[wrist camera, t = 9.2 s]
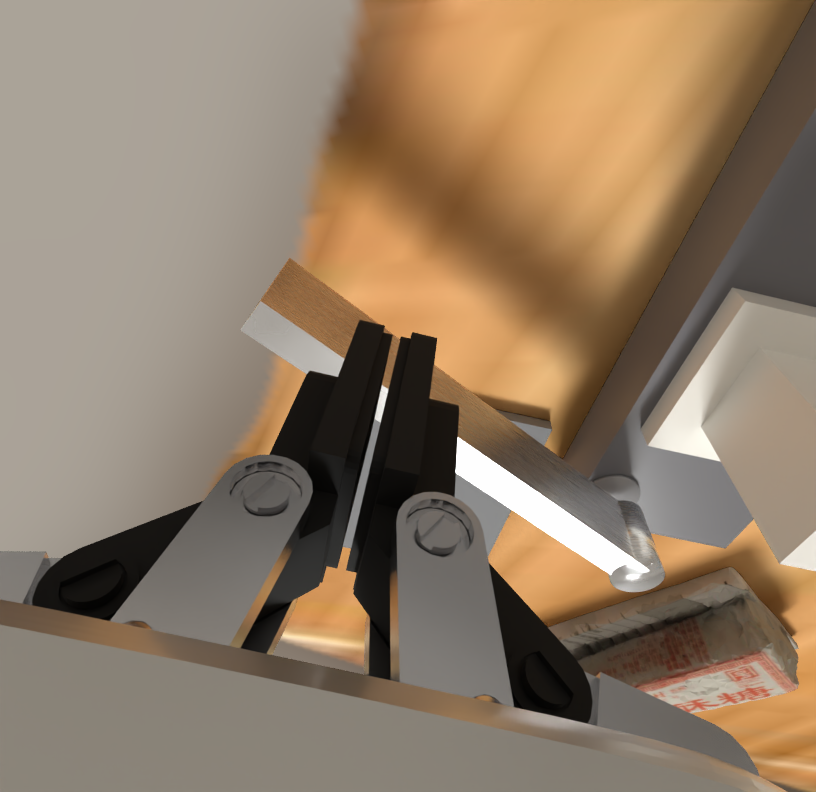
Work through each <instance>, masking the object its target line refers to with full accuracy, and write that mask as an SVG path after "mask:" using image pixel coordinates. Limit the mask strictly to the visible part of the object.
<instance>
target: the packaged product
mask: <svg viewBox="0 0 816 792" xmlns="http://www.w3.org/2000/svg"><path fill="white" fill-rule="evenodd" d="M548 628H549V630H550V631H551V632H552V633H553V634H554V635H555V636H556V637H557V638H558V639H559V640H560V642H561V643H562V644H563V645H564V646H565V647H566V648H567V649H568V650H569V651H570V653H571V654H572V655H573V656H574V657H575V659H576V660H577V661H578V663H579V664H580V666H581V667H582V668H583V670H584V671H585V672H587V673H589V674H591V675H593V676H595V677H596V676H597V675H598V674H599V673H600V672H602V673H604V674H606V675H608V676H610V677H612V678H615V679H617V680H619V681H621V682H623V683H625V684H628V685H630V686H632V687H634V688H636V689H639V690H641V691H643V692H645V693H647V694H649V695H652V696H654V697H656V698H658V699H660V700H662V701H665V702H667V703H669V704H671V705H673V706H675V707H678V708H680V709H682V710H684V711H686V712H688V713H695V712H700V711H705V710H711V709H716V708H719V707H722V706H728V705H734V704H740V703H744V702H748V701H755V700H759V699H764V698H768V697H772V696H775V695H780V694H785V693H788V692H791V691H793V690H795V689H797V688H798V685H799V682H798V679H797V676H796V670H797V663H798V655H797V653H796V651H795V649H799V648H798V645H797V643H796V642H795V641H794V639H793V638H792V637H791V635H790V634H789V633H788V632H787V630H786V629H785V628H784V626H783V625H782V624H781V622H780V621H779V620H778V618H777V617H776V616H775V615H774V614H773V613H772V612H771V611H770V610H769V609H768V608H767V607H766V605H765V604H764V603H763V602H762V601H761V600H760V599H759V598H758V597H757V596H756V594H755V593H754V592H753V590H752V589H751V588H750V587H749V585H748V584H747V583H746V582H745V580H744V579H743V578H742V577H741V575H740V574H739V573H738V572H737V571H736V570H735V569H734V568H732V567H728V568H724V569H721V570H718V571H716V572H713V573H710V574H707V575H704V576H701V577H698V578H695V579H692V580H690V581H687V582H684V583H681V584H678V585H675V586H672V587H669V588H665V589H662V590H659V591H656V592H652V593H649V594H646V595H643V596H640V597H636V598H633V599H630V600H628V601H625V602H622V603H619V604H616V605H613V606H610V607H607V608H604V609H601V610H598V611H594V612H591V613H588V614H585V615H582V616H579V617H576V618H573V619H570V620H568V621H565V622H562V623H559V624H556V625H553V626H550V627H548Z"/></svg>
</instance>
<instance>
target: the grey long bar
mask: <svg viewBox="0 0 816 792" xmlns="http://www.w3.org/2000/svg"><path fill="white" fill-rule="evenodd" d="M359 320H363V321H367V322H372V323H376V324H378V323H377V322H376V321H374V320H373V319H372V318H370V317H369V316H368V315H366V314H365V313H363V312H362V311H361V310H359V309H358V308H357V307H355V306H354V305H353V304H351V303H350V302H349V301H347V300H346V299H344V298H343V297H342V296H340V295H339V294H338V293H336V292H335V291H334V290H332V289H331V288H330V287H328V286H327V285H326V284H324V283H323V282H321V281H320V280H319V279H317V278H316V277H315V276H313V275H312V274H311V273H309V272H308V271H307V270H305V269H304V268H303V267H301V266H300V265H298V264H297V263H296V262H294V261H293V260H292V259H290V258H289V260H288V261H287V262H286V264H285V265H284V267H283V268H282V269H281V271H280V272H279V274H278V275H277V277H276V278H275V280H274V281H273V282H272V284H271V285H270V287H269V288H268V290H267V291H266V293H265V294H264V296H263V297H262V298H261V300H260V301H259V303H258V304H257V306H256V307H255V309H254V310H253V312H252V313H251V315H250V316H249V318H248V319H247V321H246V322H245V324H244V325H243V327H242V328H241V331H242V332H244V333H245V334H247V335H248V336H250V337H252V338H253V339H254V340H256V341H258V342H259V343H260V344H262V345H263V346H265V347H266V348H268V349H270V350H271V351H273V352H274V353H276V354H277V355H279V356H280V357H282V358H283V359H285V360H286V361H288V362H289V363H291V364H292V365H294V366H295V367H297V368H298V369H300V370H301V371H303V372H304V373H306V374H307V373H308V372H309V371H310V370H311V371H315V372H319V373H323V374H328V375H332V376H336V377H338V375H339V372H340V370H341V367H342V364H343V362H344V359H345V357H346V354H347V351H348V349H349V346H350V343H351V341H352V338H353V335H354V333H355V330H356V327H357V325H358V322H359ZM384 333H388V334H392V333H391V332H389V331H388V330H386V329H385V328H384ZM399 343H400V339H399V338H397V337H396V336H395V335H393V337H392V342H391V346H390V351H389V355H388V360H387V364H386V369H385V373H384V378H383V383H382V387H381V392H380V396H379V401H378V405H377V410H376V414H375V419H376V420H377V421H379V422H380V423H381V419H382V415H383V410H384V406H385V402H386V398H387V393H388V389H389V385H390V381H391V377H392V372H393V368H394V364H395V360H396V355H397V351H398V347H399ZM430 399H434V400H439V401H443V402H447V403H451V404H456V405H458V406H459V425H458V443H457V462H456V473H457V474H459V475H460V476H462V477H463V478H465V479H466V480H468V481H469V482H471V483H473V484H474V485H476V486H477V487H479V488H480V489H482V490H483V491H485V492H486V493H488V494H489V495H491V496H492V497H494V498H495V499H497V500H498V501H500V502H501V503H503V504H504V505H506V506H507V507H509V508H510V509H512V510H513V511H515V512H516V513H518V514H519V515H521V516H522V517H524V518H526V519H527V520H529V521H530V522H532V523H533V524H535V525H536V526H538V527H539V528H541V529H542V530H544V531H545V532H547V533H548V534H550V535H551V536H553V537H554V538H556V539H557V540H559V541H560V542H562V543H563V544H565V545H566V546H568V547H569V548H571V549H572V550H574V551H576V552H577V553H579V554H580V555H582V556H583V557H585V558H586V559H588V560H589V561H591V562H592V563H594V564H595V565H597V566H598V567H600V568H601V569H603V570H604V571H606V572H607V573H608V575H609V578H610V582H611V584H612V585H613V586H614V587H615V588H617V589H619V590H622V591H626V592H642V591H646V590H650V589H652V588H654V587H656V586H658V585H659V584H660V583H661V582H662V581H663V580H664V578H665V572H664V569H663V566H662V563H661V561H660V558H659V555H658V552H657V550H656V547H655V544H654V541H653V539H652V536H651V533H650V530H649V527H648V525H647V522H646V519H645V516H644V514H643V511H642V509H641V507H640V506H639V505H638V504H636V503H634V502H631V501H626V500H617V499H615V498H614V497H613V496H611V495H610V494H609V493H607V492H606V491H604V490H603V489H602V488H600V487H599V486H598V485H596V484H595V483H594V482H592V481H591V480H590V479H588V478H587V477H586V476H584V475H583V474H581V473H580V472H579V471H577V470H576V469H575V468H573V467H572V466H571V465H569V464H568V463H567V462H565V461H564V460H563V459H561V458H560V457H558V456H557V455H556V454H554V453H553V452H552V451H550V450H549V449H548V448H546V447H545V446H544V445H542V444H541V443H539V442H538V441H537V440H535V439H534V438H533V437H531V436H530V435H529V434H527V433H526V432H525V431H523V430H522V429H521V428H519V427H518V426H516V425H515V424H514V423H512V422H511V421H510V420H508V419H507V418H506V417H504V416H503V415H502V414H500V413H499V412H498V411H496V410H495V409H493V408H492V407H491V406H489V405H488V404H487V403H485V402H484V401H483V400H481V399H480V398H479V397H477V396H476V395H474V394H473V393H472V392H470V391H469V390H468V389H466V388H465V387H464V386H462V385H461V384H460V383H458V382H457V381H456V380H454V379H453V378H451V377H450V376H449V375H447V374H446V373H445V372H443V371H442V370H441V369H439V368H438V367H437V366H435V365H434V367H433V375H432V383H431V390H430Z"/></svg>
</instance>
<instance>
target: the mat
mask: <svg viewBox="0 0 816 792" xmlns="http://www.w3.org/2000/svg"><path fill="white" fill-rule="evenodd" d="M496 411H498V412H499V413H500V414H502V415H503V416H504V417H506V418H507V419H508V420H510V421H511V422H512V423H514V424H515V425H516V426H518V427H519V428H521V429H522V430H523V431H525V432H526V433H527V434H529V435H530V436H531V437H533V438H534V439H535V440H537V441H538V442H539V443H541V444H542V445H545V443H546V441H547V439H548V437H549V435H550V433H551V431H552V426H551V422H550V421H546V420H542V419H537V418H532V417H528V416H523V415H518V414H514V413H509V412H504V411H500V410H496ZM379 427H380V422H379V421H377V420H376V419H374V423H373V428H372V432H371V436H370V440H369V444H368V448H367V452H366V456H365V460H364V464H363V468H362V472H361V476H360V480H359V484H358V488H357V492H356V496H355V500H354V504H353V508H352V512H351V516H350V520H349V524H348V528H347V532H346V536H345V539H344V543H343V547H347V548H351V547H352V543H353V538H354V534H355V530H356V525H357V521H358V517H359V513H360V508H361V504H362V500H363V495H364V491H365V487H366V482H367V478H368V474H369V470H370V465H371V461H372V457H373V453H374V448H375V444H376V440H377V436H378V431H379ZM455 498H457V499H459V500H461V501H462V502H464V503H465V504H466V505H467V506H468V507H470V508H471V509H472V510H473V512H474V513H475V515H476V516H477V517H478V519H479V521H480V523H481V526H482V529H483V533H484V539H485V545H486V550H487V556H488V555H489V553H490V551H491V549H492V547H493V545H494V544H495V542H496V540H497V538H498V536H499V534H500V532H501V530H502V528H503V526H504V524H505V522H506V520H507V518H508V516H509V514H510V512H511V510H512V509H510V508H509V507H507V506H506V505H504V504H503V503H501V502H500V501H498V500H497V499H495V498H494V497H492V496H491V495H489V494H488V493H486V492H485V491H483V490H482V489H480V488H479V487H477V486H476V485H474V484H473V483H471V482H469V481H468V480H466V479H465V478H463V477H462V476H460V475H459V474H457V473H456V481H455Z"/></svg>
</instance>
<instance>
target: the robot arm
mask: <svg viewBox="0 0 816 792" xmlns="http://www.w3.org/2000/svg"><path fill="white" fill-rule="evenodd" d="M384 328H385V326H384V325H380V324H376V323H372V322H367V321H363V320H359V322H358V325H357V327H356V330H355V333H354V335H353V338H352V341H351V343H350V346H349V349H348V351H347V354H346V357H345V359H344V362H343V364H342V367H341V370H340V372H339V375H338V377H336V376H332V375H328V374H323V373H319V372H315V371H311V370H310V371H309V372H308V373H307V375H306V377H305V379H304V381H303V383H302V386H301V388H300V390H299V392H298V394H297V396H296V399H295V401H294V403H293V405H292V407H291V409H290V411H289V414H288V416H287V418H286V420H285V422H284V424H283V427H282V429H281V431H280V433H279V435H278V437H277V440H276V442H275V444H274V446H273V448H272V450H271V452H270V455H258V456H253V457H249V458H246V459H244V460H242V461H240V462H238V463H236V464H234V465H233V466H232V467H231V468H230V469H229V470H228V471H227V472H226V473H225V474H224V475H223V477H222V478H221V479H220V480H219V482H218V483H217V484H216V486H215V487H214V488H213V489H212V491H211V492H210V493H209V494H208V496H207V497H206V498H205V500H204V501H201V502H199V503H196V504H194V505H191V506H188V507H186V508H183V509H181V510H178V511H175V512H173V513H170V514H168V515H165V516H162V517H160V518H157V519H155V520H152V521H150V522H147V523H144V524H142V525H139V526H137V527H134V528H132V529H129V530H126V531H124V532H121V533H118V534H116V535H113V536H111V537H108V538H106V539H103V540H100V541H98V542H95V543H93V544H90V545H87V546H85V547H82V548H80V549H78V550H76V551H74V552H72V553H70V554H68V555H66V556H64V557H63V558H48V555H47V553H46V552H12V551H11V552H8V551H4V552H3V551H0V792H786V791H785V790H783V789H781V788H779V787H778V786H776V785H774V784H772V783H771V782H769V781H767V780H765V779H763V778H761V777H760V776H759V773H758V770H757V768H756V767H755V765H754V763H753V762H752V760H751V758H750V757H749V755H748V753H747V752H746V750H745V749H744V748H743V747H742V746H741V745H740V744H739V743H738V742H737V741H736V740H735V739H734V738H733V737H732V736H731V735H730V734H729V733H727V732H725V731H724V730H722V729H721V728H719V727H718V726H716V725H715V724H712V723H710V722H708V721H706V720H704V719H701V718H699V717H697V716H695V715H693V714H691V713H688V712H686V711H684V710H682V709H680V708H678V707H675V706H673V705H671V704H669V703H667V702H665V701H662V700H660V699H658V698H656V697H654V696H652V695H649V694H647V693H645V692H643V691H641V690H639V689H636V688H634V687H632V686H630V685H628V684H625V683H623V682H621V681H619V680H617V679H615V678H612V677H610V676H608V675H606V674H604V673H602V672H600V673H599V674H598V675H597V676H596V677H595V676H593V675H591V674H589V673H587V672H585V671H584V670H583V668H582V667H581V666H580V664H579V663H578V661H577V660H576V659H575V657H574V656H573V655H572V654H571V653H570V651H569V650H568V649H567V648H566V647H565V646H564V645H563V644H562V643H561V642H560V640H559V639H558V638H557V637H556V636H555V635H554V634H553V633H552V632H551V631H550V630H549V628H548V627H547V626H546V625H545V624H544V623H543V622H542V621H541V620H540V619H539V617H538V616H537V615H536V614H535V613H534V612H533V611H532V610H531V609H530V608H529V606H528V605H527V604H526V603H525V602H524V601H523V600H522V599H521V598H520V597H519V595H518V594H517V593H516V592H515V591H514V590H513V589H512V588H511V587H510V586H509V585H508V583H507V582H506V581H505V580H504V579H503V578H502V577H501V576H500V575H499V574H498V572H497V571H496V570H495V569H494V568H493V567H492V566H491V565H490V564H489V562H488V556H487V550H486V545H485V539H484V533H483V529H482V526H481V523H480V521H479V519H478V517H477V516H476V515H475V513H474V512H473V510H472V509H471V508H470V507H468V506H467V505H466V504H465V503H464V502H462V501H461V500H459V499H457V498H455V481H456V462H457V443H458V425H459V406H458V405H456V404H451V403H447V402H443V401H439V400H434V399H430V390H431V383H432V375H433V367H434V359H435V352H436V344H437V338H434V337H430V336H426V335H422V334H418V333H413V332H412V335H411V339H409V338H405V337H401V339H400V343H399V347H398V351H397V355H396V360H395V364H394V368H393V372H392V377H391V381H390V385H389V389H388V393H387V398H386V402H385V406H384V410H383V415H382V419H381V423H380V427H379V431H378V436H377V440H376V444H375V448H374V453H373V457H372V461H371V465H370V470H369V474H368V478H367V482H366V487H365V491H364V495H363V500H362V504H361V508H360V513H359V517H358V521H357V525H356V530H355V534H354V538H353V543H352V547H351V551H350V556H349V560H348V564H347V569H346V570H347V571H352V572H356V573H357V574H356V579H355V583H354V588H353V590H354V593H353V594H354V595H355V597H356V598H357V599H358V601H359V602H360V604H361V605H362V607H363V608H364V609H365V611H366V612H367V617H366V622H365V653H364V675H363V674H358V673H353V672H349V671H344V670H339V669H335V668H330V667H325V666H321V665H316V664H311V663H307V662H301V661H297V660H292V659H288V658H282V657H278V656H274V655H272V654H273V653H274V650H275V648H276V646H277V644H278V642H279V640H280V638H281V636H282V634H283V632H284V630H285V628H286V626H287V623H288V621H289V619H290V617H291V615H292V613H293V611H294V609H295V606H296V603H297V600H298V597H300V596H302V595H303V594H305V593H307V592H309V591H311V590H313V589H314V588H316V587H318V586H319V584H320V582H321V583H322V581H323V577H324V574H325V570H326V566H329V567H333V568H337V567H338V563H339V559H340V555H341V551H342V547H343V543H344V539H345V536H346V532H347V528H348V524H349V520H350V516H351V512H352V508H353V504H354V500H355V496H356V492H357V488H358V484H359V480H360V476H361V472H362V468H363V464H364V460H365V456H366V452H367V448H368V444H369V440H370V436H371V432H372V428H373V423H374V419H375V414H376V410H377V405H378V401H379V396H380V392H381V387H382V383H383V378H384V373H385V369H386V364H387V360H388V355H389V351H390V346H391V342H392V337H393V334H388V333H384Z"/></svg>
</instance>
